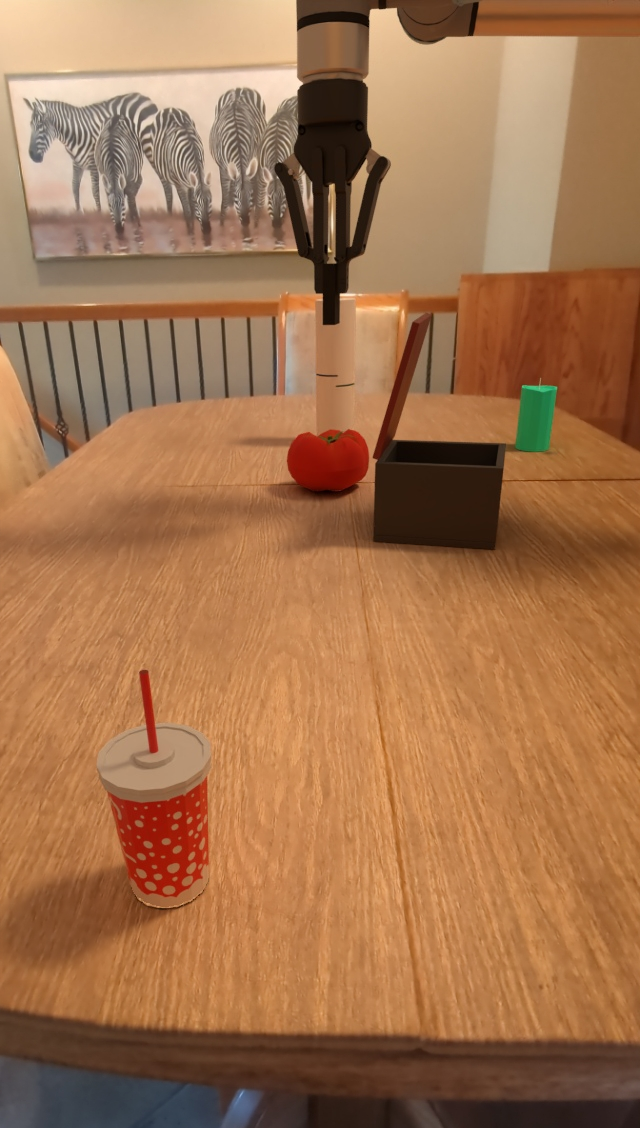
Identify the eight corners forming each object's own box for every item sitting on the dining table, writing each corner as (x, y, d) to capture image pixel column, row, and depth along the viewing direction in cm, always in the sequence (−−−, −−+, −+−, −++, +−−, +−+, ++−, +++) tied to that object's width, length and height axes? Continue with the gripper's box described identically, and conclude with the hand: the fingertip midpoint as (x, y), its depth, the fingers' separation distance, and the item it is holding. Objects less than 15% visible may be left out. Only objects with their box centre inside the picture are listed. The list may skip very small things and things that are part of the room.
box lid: (432, 314, 93) (425, 312, 93) (419, 323, 82) (412, 321, 82) (394, 437, 101) (388, 435, 101) (378, 460, 90) (372, 458, 90)
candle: (509, 449, 135) (517, 379, 130) (521, 442, 140) (529, 374, 134) (543, 453, 132) (552, 381, 127) (554, 446, 136) (563, 376, 131)
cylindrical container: (319, 438, 148) (318, 298, 137) (356, 438, 147) (358, 297, 135) (313, 446, 142) (312, 301, 131) (351, 447, 141) (353, 300, 129)
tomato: (299, 503, 110) (298, 444, 106) (281, 481, 121) (280, 427, 117) (382, 496, 112) (384, 438, 108) (357, 475, 123) (358, 421, 119)
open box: (498, 517, 102) (506, 443, 97) (495, 549, 91) (503, 468, 86) (388, 511, 105) (391, 439, 101) (373, 541, 95) (375, 463, 90)
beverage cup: (133, 841, 47) (102, 642, 41) (230, 845, 47) (214, 644, 40) (104, 917, 42) (63, 702, 36) (213, 923, 41) (191, 705, 35)
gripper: (399, 84, 81) (390, 321, 92) (283, 94, 85) (287, 321, 95) (388, 70, 75) (380, 326, 86) (263, 81, 78) (270, 327, 89)
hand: (331, 323), depth 90 cm, fingers closed
